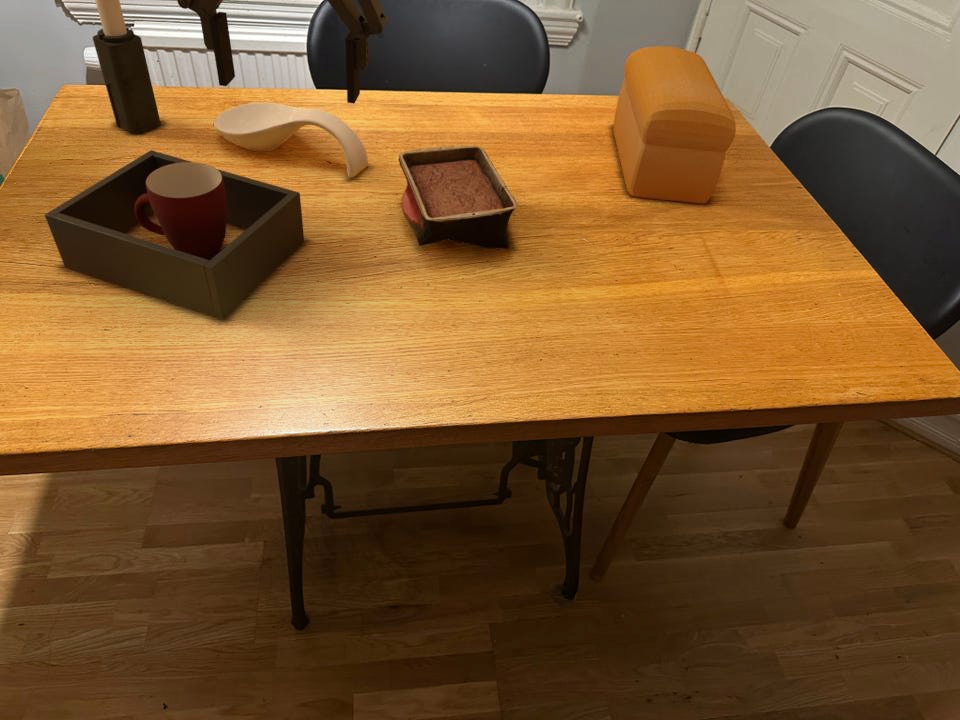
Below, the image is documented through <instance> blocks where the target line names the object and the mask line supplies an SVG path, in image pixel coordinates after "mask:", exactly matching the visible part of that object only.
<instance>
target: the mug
mask: <svg viewBox="0 0 960 720" xmlns="http://www.w3.org/2000/svg"><path fill="white" fill-rule="evenodd" d="M218 169H219V168H216V167H215V166H213V165H210V164H206V163H204V162H198V161H197V162H196V161H191V162H180V163H174V164H169V165H166V166H163V167H160V168H158V169H156V170H155V171H153V172H152V173H151V174H150V175H149V176H148V177H147V179H146V189H147V194H143V195H141V196H140V197H139V198H138V199H137V201H136V203H135V207H134V212H135V216H136V218H137V220H138V222H139V223H138V224H139V225H141V227H143V228H144V229H145V230H147V231H149V232H151V233H153V234H156V235H159V236H160V235H161V236H165V238H166V240H167V242H168V243H169V245H170V246H171V248H172V249H175V250H178V251H181V252H185V253H188V254H191V255H194V256H197V257H200V258H204V259H207V260H209V261H210V260H211V259H212V258H213V257H215V256H216V255H217V254H218V253H219V252H221V250H222V248H223V245H224V242H225V239H226V235H227V223H226V209H227V200H226V191H225V185H224V181H223V177H222V174H221V172H220V171H219V170H220V169H219V170H218ZM146 204H151V207H152V209H153V214H154V216H155V218H156V220H157V222H158V224H157V223H156V222H154V221H152V220H151V219H150V217H149V216H147V215H146V212H145V205H146Z"/></svg>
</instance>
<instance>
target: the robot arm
mask: <svg viewBox="0 0 960 720" xmlns="http://www.w3.org/2000/svg"><path fill="white" fill-rule="evenodd" d="M326 1H327V2H328V3H329V5H330V7H332V9H333V10H334V12H335V13H336V14H337V15H338V17H339V18H340V20H341V21H342V22H343V23H344V25H345V26H346V28H347V29H348V30H349V32H348V34H347V35H346V37H345V39H344V40H345V67H346V68H345V71H346V73H345V74H346V102H347V104H355V103H356V102H357V100H358V98H359V96H360V94H361V81H360V79H361V77H360V73H361V72H360V71H365V70H366V68H367V67H368V64H369V62H370V37H371V36H373V35H377V36H378V35H381V34H382V33H383V31H384V29H385V28H386V26H387V24H388V18H387V16H386V13H385V10H384V9H383V6H382V4H381V2H380V0H357V2H358V4H359V7H358V5H357V4H356V2H355V1H354V0H326ZM223 2H224V0H177V4H178V6H179V7H180V8H181V9H184V10H187V9H188V10H190V11H192V12H194V13H196V14H197V16H198V17H199V20H200V25H201V32H202V37H203V44H204V46H205V48H206V50H210V51H213V53H214V59H215V60H214V61H215V66H216V72H217V79H218V85H219V86H220V87H221V86H222V87H228V85H229V84H230V83H231V82H232V81H233V80H234V79H235V77H236V72H235V66H234V65H235V64H234V58H233V50H232V45H231V43H232V42H231V37H230V30H229V24H228V16H227V12H223V11H217V9H219V8H220V6H221V4H222V3H223Z"/></svg>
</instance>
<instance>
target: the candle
mask: <svg viewBox="0 0 960 720" xmlns="http://www.w3.org/2000/svg"><path fill="white" fill-rule="evenodd" d="M94 1H95V5H96V9H97V13H98V16H99V19H100V20H99V21H100V24H101V27H102V28H100V29H99V30H98V31H96V33H97V34H95V35H93V36H92V42H93V45H94V48H95V52H96V55H97V59H98V62H99V63H98V64H99V67H100V70H101V74H102V77H103V81H104V85H105V89H106V91H107V95H108V100H109V103H110V106H111V110H112V113H113V116H114V120H115V124H116V126H117V128H121V129H124V130H126V131H127V132H128V133H129V134H132V135H140V134H143V133H145V132H149V131H151V130H154V129H157V128H160V126H161V125H162V124H161V118H160V115H159V110H158V106H157V101H156V97H155V92H154V88H153V84H152V83H153V82H152V79H151V76H150V71H149V67H148V62H147V57H146V54H145V50H144V45H143V40H142V38H141V37H142V36H140V35H137V34H135V31H134V30H133V29H129V27H127V26H126V22H125V17H124V13H123V10H122V6H121V1H120V0H94Z"/></svg>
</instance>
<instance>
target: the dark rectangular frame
mask: <svg viewBox="0 0 960 720" xmlns="http://www.w3.org/2000/svg"><path fill="white" fill-rule="evenodd" d="M180 162H192V161H191V160H187V159H184V158H180V157H177V156H173V155H170V154H166V153H162V152H159V151H156V150H151V149H150V150H149V151H147V152H146V153H144V154H142V155H141V156H139V157H137V158H136V159H134V160H133V161H130V162H129V163H127V164H126V165H124V166H122V167H121V168H119V169H117V170H115V171H114V172H113V173H111V174H109V175H107V176H105V177H104V178H103V179H101V180H99V181H98V182H96V183H94V184H92V185H90V186H89V187H88V188H86V189H84V190H82V191H81V192H79V193H77V194H76V195H74V196H73V197H71V198H70V199H68V200H66V201H65V202H63V203H61V204H60V205H58V206H56V207H54V208H53V209H51V210H49V211H48V212H46V213H44V217H45V220H46V223H47V225H48V228H49V231H50V233H51V235H52V236H51V237H52V238H53V241H54V243H55V246H56V248H57V251H58V254H59V256H60V259H61V261H62V263H63V264H62V265H63V266H64V268H65V269H69V270H72V271H75V272H77V273H81V274H84V275H85V276H86V275H87V276H90V277H92V278H96V279H99V280H101V281H105V282H107V283H111V284H114V285H116V286H120V287H122V288H126V289H128V290H132V291H134V292H138V293H141V294H143V295H147V296H149V297H151V298H152V297H153V298H156V299H159V300H162V301H165V302H167V303H170V304H174V305H176V306H179V307H183V308H185V309H189V310H192V311H195V312H197V313H200V314H204V315H207V316H209V317H212V318H216V319H219V320H222V321H224V320H225V319H226V318H227V317H228V316H229V315H230V314H231V313H233V311H235V309H237V307H239V305H241V304H242V303H243V302H244V301H245V300H246V299H247V298H248V297H249V296H251V294H252V293H253V292H254V291H255V290H256V289H257V288H259V286H260V285H261V284H262V283H263V282H265V281H266V280H267V279H268V278H269V277H270V276H271V275H272V274H273V273H274V272H275V271H276V270H277V269H278V268H279V267H280V266H281V265H282V264H283V263H284V262H285V261H287V259H289V257H290V256H292V255H293V254H294V253H295V252H296V251H297V250H298V249H299V248H300V247H301V246H302V245H303V244H304V243H305V234H304V223H303V212H302V201H301V193H300V192H299V191H297V190H292V189H288V188H286V187H281V186H278V185H275V184H271V183H267V182H265V181H260V180H256V179H254V178H251V177H246V176H243V175H239V174H236V173H232V172H228V171H226V170H222V169H219V168H217V169H218V170H219V171H220V172H221V174H222V177H223V181H224V185H225V191H226V200H227V209H226V224H228V225H230V226H231V225H232V226H234V227H237V228H241V229H245V230H244V231H243V232H242V233H240V234H239V235H238V236H237V237H235V239H234V240H232V241H231V242H230V243H229V244H228V245H227V246H225V247H224V248H222V249H221V250H220V252H219V253H218V254H217V255H216V256H215V257H213V258H212V259H211V260H210V261H209V260H207V259H204V258H200V257H197V256H194V255H191V254H188V253H185V252H181V251H178V250H175V249H174V248H173V247H168V246H165V245H162V244H160V243H156V242H153V241H150V240H146V239H143V238H141V237H137V236H134V235H130V234H127V231H129V230H131V229H132V228H133V227H135V226H137V225H138V224H140V223H139V222H138V220H137V218H136V216H135V212H134V207H135V203H136V201H137V199H138V198H139V197H140V196H141V195H143V194H147V189H146V179H147V177H148V176H149V175H150V174H151V173H152V172H153V171H155V170H156V169H158V168H160V167H163V166H166V165H169V164H174V163H180ZM145 212H146V215H147V216H148V217H149V216H150V215H152V214H154V212H153V209H152V207H151V204H146V205H145Z"/></svg>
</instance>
